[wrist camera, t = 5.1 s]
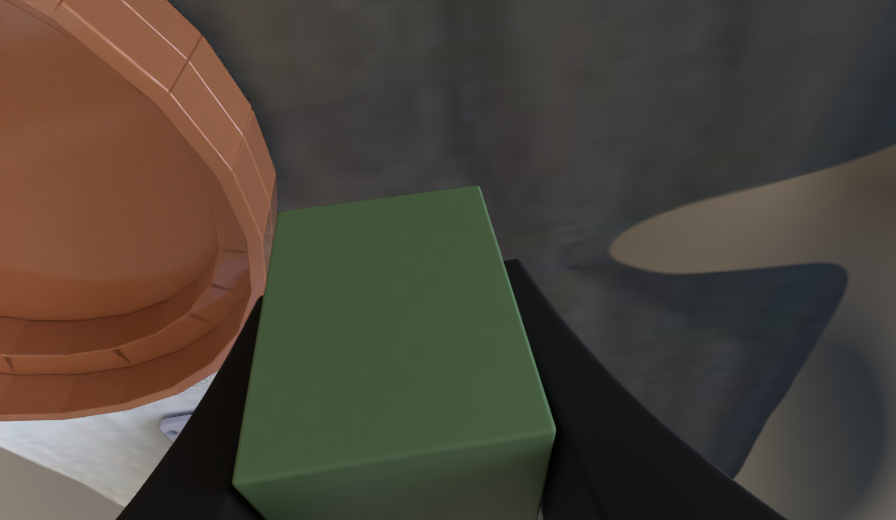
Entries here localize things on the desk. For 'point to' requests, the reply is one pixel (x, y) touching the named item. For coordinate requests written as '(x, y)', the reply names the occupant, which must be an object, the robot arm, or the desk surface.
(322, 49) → the desk surface
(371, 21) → the desk surface
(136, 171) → the basin
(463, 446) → the green block
